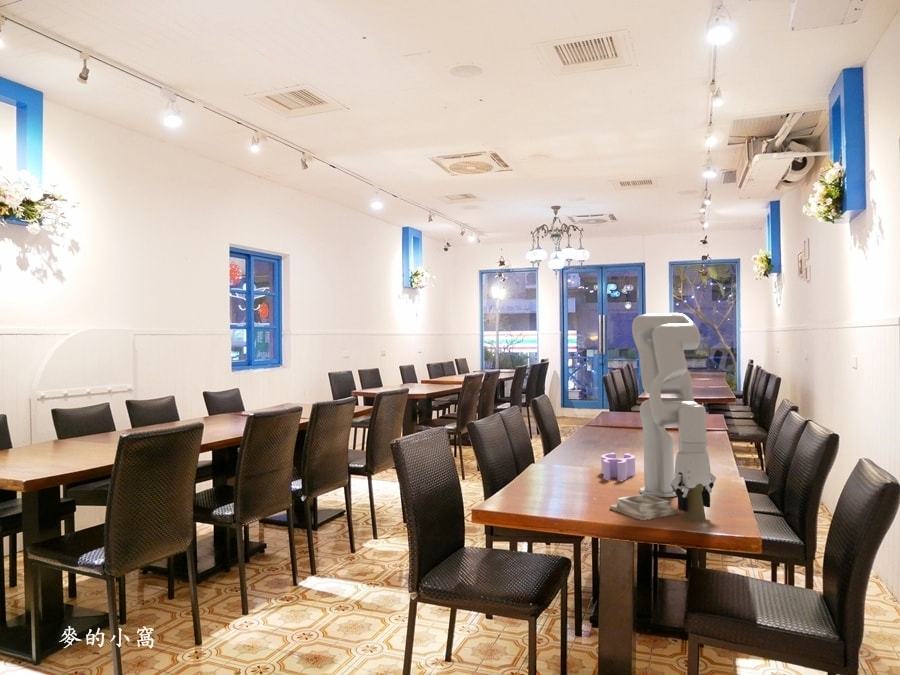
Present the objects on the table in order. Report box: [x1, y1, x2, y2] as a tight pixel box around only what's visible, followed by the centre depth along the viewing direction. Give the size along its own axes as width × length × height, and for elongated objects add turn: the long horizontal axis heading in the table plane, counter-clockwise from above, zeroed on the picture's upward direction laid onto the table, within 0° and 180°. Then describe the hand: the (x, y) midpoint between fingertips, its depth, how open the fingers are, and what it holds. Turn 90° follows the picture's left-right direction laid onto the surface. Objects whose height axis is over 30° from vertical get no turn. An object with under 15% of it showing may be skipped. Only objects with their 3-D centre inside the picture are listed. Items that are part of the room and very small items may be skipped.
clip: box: [600, 452, 636, 482], centre depth 242 cm, size 20×12×7 cm, turn 158°
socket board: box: [609, 493, 680, 521], centre depth 192 cm, size 14×14×4 cm
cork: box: [682, 483, 707, 523], centre depth 183 cm, size 6×6×11 cm
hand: (694, 508), depth 183 cm, fingers open, 8 cm apart
